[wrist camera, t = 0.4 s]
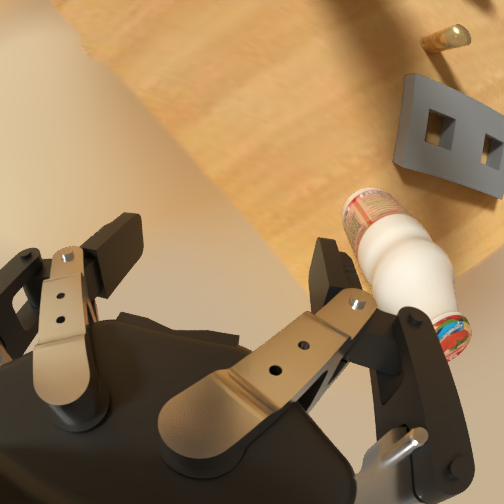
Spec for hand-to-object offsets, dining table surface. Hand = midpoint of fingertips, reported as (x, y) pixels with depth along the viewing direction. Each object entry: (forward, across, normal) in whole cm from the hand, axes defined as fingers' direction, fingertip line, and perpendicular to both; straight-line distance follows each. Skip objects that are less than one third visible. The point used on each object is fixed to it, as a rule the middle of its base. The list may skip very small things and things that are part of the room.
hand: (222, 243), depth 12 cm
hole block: (+30, -30, -8) cm, 43 cm away
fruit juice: (+30, -17, +8) cm, 36 cm away
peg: (+30, -23, -22) cm, 44 cm away
